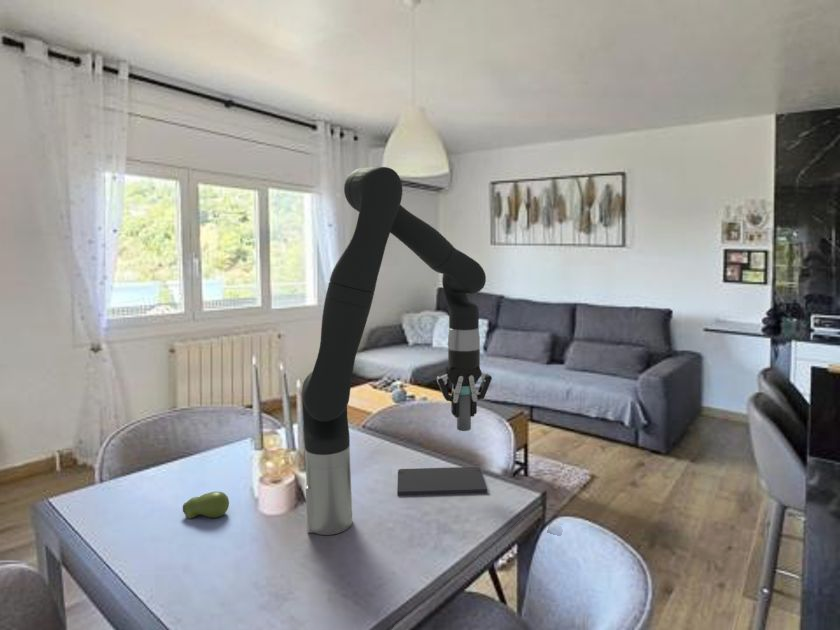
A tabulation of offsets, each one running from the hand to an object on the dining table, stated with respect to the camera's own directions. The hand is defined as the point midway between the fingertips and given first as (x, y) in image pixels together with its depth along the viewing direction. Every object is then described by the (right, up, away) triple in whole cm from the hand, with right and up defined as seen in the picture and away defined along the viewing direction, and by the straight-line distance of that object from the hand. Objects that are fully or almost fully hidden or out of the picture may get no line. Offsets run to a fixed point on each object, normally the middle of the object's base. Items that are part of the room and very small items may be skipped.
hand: (464, 415), depth 128 cm
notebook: (-6, -18, +3) cm, 19 cm away
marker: (0, -3, 0) cm, 3 cm away
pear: (-58, -20, -11) cm, 62 cm away
